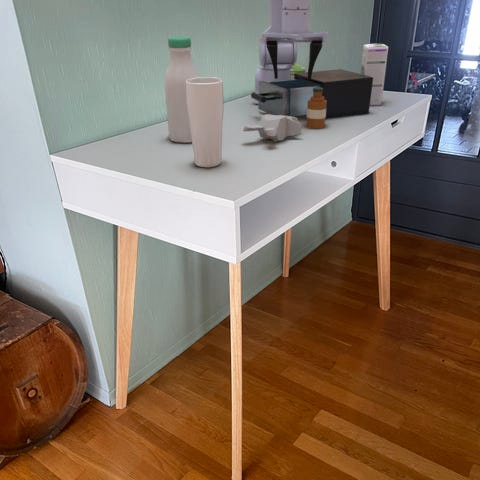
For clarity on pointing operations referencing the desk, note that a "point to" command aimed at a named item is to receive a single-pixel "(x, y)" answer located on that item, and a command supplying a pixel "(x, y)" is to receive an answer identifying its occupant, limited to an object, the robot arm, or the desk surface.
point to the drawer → (285, 96)
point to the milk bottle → (178, 88)
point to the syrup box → (375, 69)
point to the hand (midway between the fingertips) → (292, 78)
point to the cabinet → (342, 91)
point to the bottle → (316, 110)
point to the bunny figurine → (276, 127)
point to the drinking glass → (205, 119)
